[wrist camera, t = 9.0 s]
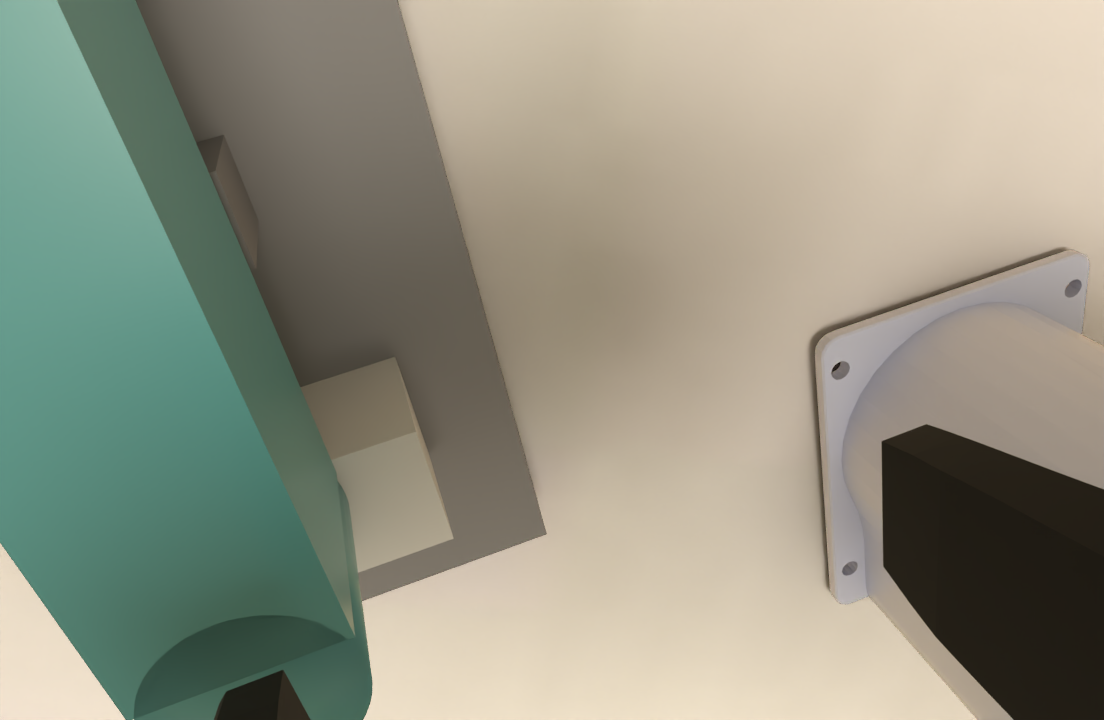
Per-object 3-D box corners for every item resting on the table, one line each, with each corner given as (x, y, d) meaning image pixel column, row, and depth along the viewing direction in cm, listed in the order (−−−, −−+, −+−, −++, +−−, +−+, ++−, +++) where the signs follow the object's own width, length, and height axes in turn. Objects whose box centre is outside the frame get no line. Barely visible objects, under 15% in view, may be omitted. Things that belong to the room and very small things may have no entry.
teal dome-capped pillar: (372, 556, 16) (400, 731, 12) (210, 614, 15) (192, 812, 12) (2, -313, 9) (-152, -444, 6) (-294, -254, 9) (-640, -360, 6)
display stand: (530, 498, 22) (585, 621, 18) (133, 639, 21) (101, 805, 17) (219, -598, 12) (194, -842, 8) (-590, -475, 11) (-1079, -699, 7)
